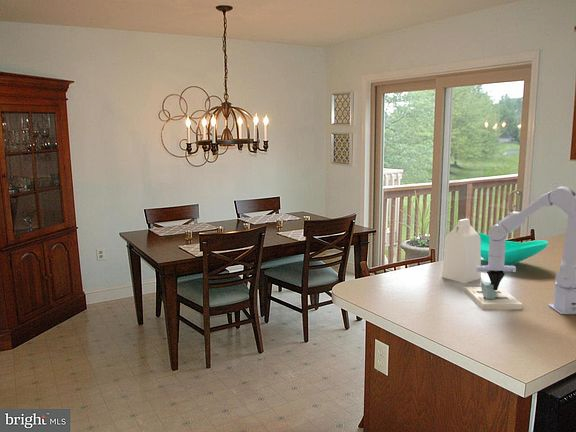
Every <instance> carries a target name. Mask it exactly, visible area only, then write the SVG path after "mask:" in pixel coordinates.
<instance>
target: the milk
mask: <svg viewBox="0 0 576 432" xmlns="http://www.w3.org/2000/svg"><path fill="white" fill-rule="evenodd" d="M478 233H479V232H478ZM478 233H477V230H476V229H475V228H474V227H473V226H472V225H471V221H470V219H469V218H463V219H459V220H457V224H456V226H455V227H453V228H452V230H451V231H449V232H448V233H447V234H446V236H445V239H444V247H443V249H444V250H443V260H442V261H443V262H442V269H441V271H442V272H441V278H444V279H448V280H451V281H455V282H459V283H462V284H466V283H469V282H474V281H477V280H479V279H480V280H481V279H482V273H481V272H477V271H476V266H482V261H481V259H482V257H481V239H480V236H479V234H478Z"/></svg>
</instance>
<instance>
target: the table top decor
mask: <svg viewBox="0 0 576 432" xmlns="http://www.w3.org/2000/svg"><path fill="white" fill-rule="evenodd" d="M476 232H477V231H476ZM477 233H478V234H479V236H480V239H481V259H483V260H485V261H486V262H488V256H489V243H490V237H489V234H485V233H482V232H477ZM548 244H549V241H547V240H542V239H540V240H531V241H525V242H517V241H509V240H505V260H504V265H507V266H514V265H515V264H517V263H520V262H521V261H525V260H526V259H528V258H531V257H533V256H535V255H537V254H538V253H540V252H542V251H544V250H545V249H546V248H547V245H548Z"/></svg>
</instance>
